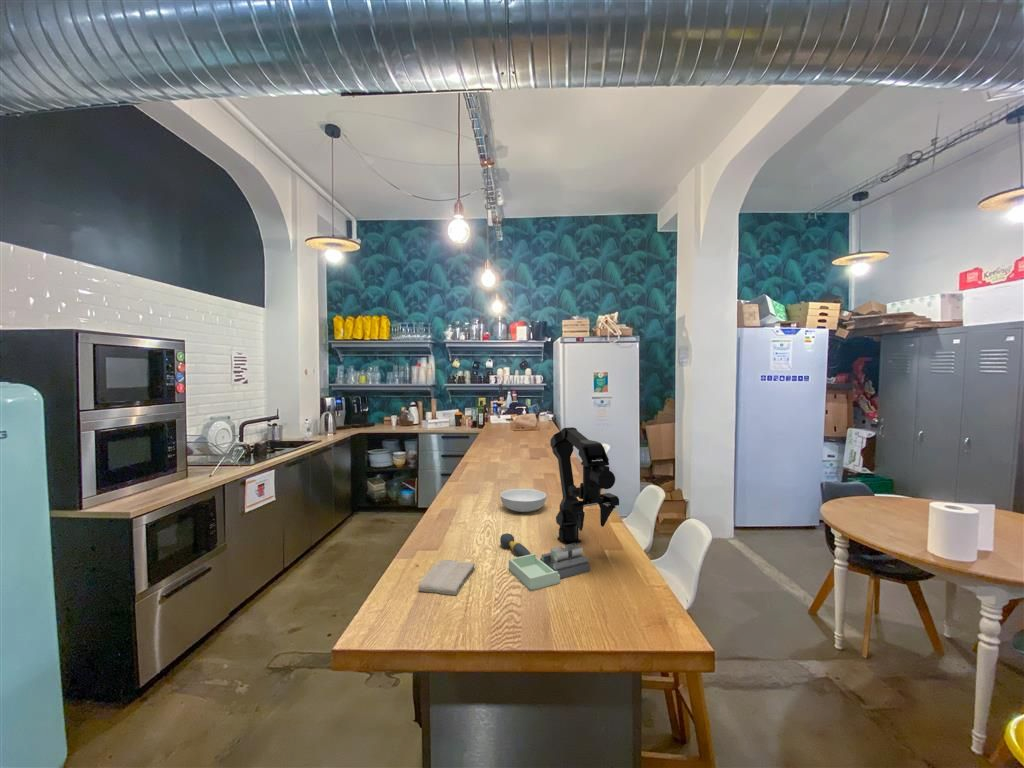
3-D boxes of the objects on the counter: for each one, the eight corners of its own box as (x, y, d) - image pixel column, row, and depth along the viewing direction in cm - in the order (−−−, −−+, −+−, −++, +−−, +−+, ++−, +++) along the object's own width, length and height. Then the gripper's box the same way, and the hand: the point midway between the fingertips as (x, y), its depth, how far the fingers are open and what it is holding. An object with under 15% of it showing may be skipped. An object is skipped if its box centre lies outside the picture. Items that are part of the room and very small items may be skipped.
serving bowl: (547, 517, 181) (548, 501, 181) (499, 516, 181) (499, 501, 181) (544, 502, 202) (544, 488, 202) (501, 502, 202) (501, 487, 202)
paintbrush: (541, 560, 139) (541, 545, 139) (529, 564, 136) (529, 549, 136) (505, 541, 155) (504, 528, 155) (494, 545, 152) (493, 531, 151)
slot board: (571, 558, 140) (571, 546, 140) (589, 571, 131) (589, 558, 131) (540, 566, 135) (540, 553, 135) (557, 579, 126) (557, 566, 126)
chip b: (561, 558, 135) (561, 546, 135) (568, 563, 131) (568, 550, 131) (550, 560, 133) (550, 548, 133) (557, 566, 129) (557, 553, 129)
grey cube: (575, 555, 137) (575, 542, 137) (582, 559, 134) (582, 547, 133) (565, 557, 135) (565, 545, 135) (572, 562, 132) (572, 549, 132)
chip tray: (536, 563, 136) (536, 553, 136) (559, 582, 124) (559, 571, 124) (508, 570, 132) (508, 559, 132) (530, 590, 119) (530, 578, 119)
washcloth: (476, 569, 134) (476, 559, 134) (457, 598, 116) (457, 587, 116) (441, 565, 136) (441, 556, 136) (417, 593, 119) (417, 583, 119)
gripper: (599, 473, 148) (599, 516, 149) (554, 478, 140) (554, 524, 141) (620, 480, 138) (620, 526, 139) (573, 486, 130) (573, 536, 131)
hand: (591, 528), depth 138 cm, fingers open, 8 cm apart
